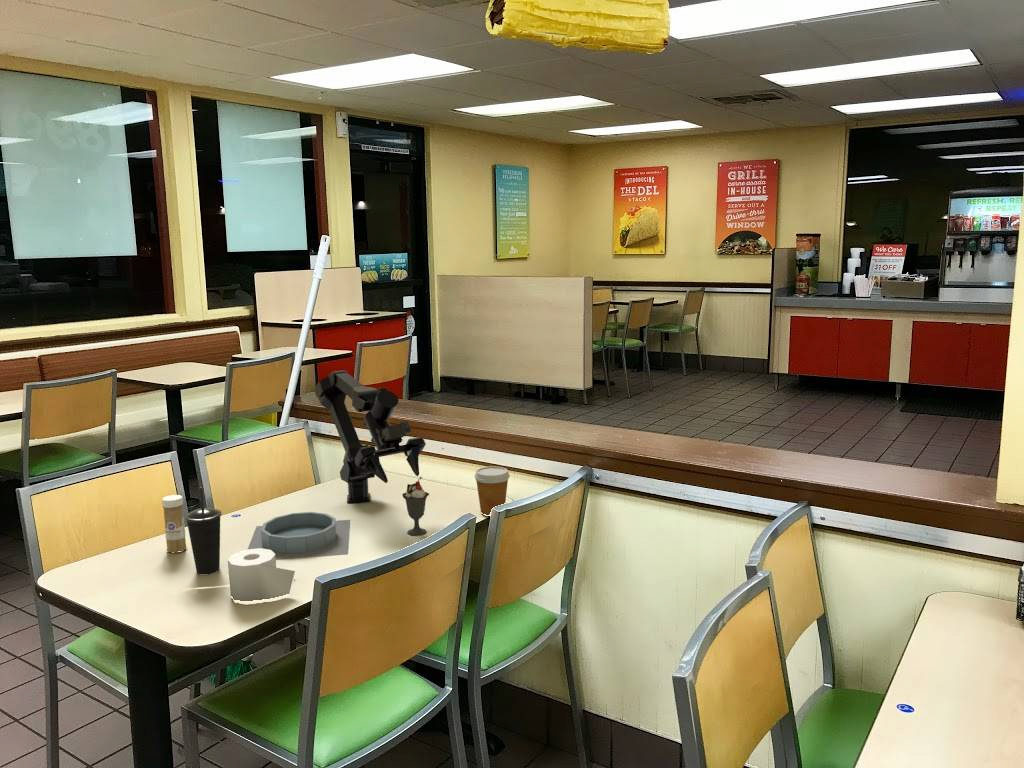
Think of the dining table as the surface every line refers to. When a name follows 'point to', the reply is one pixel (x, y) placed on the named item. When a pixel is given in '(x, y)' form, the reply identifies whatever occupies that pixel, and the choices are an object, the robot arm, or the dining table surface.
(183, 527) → the sprinkles bottle
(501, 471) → the disposable coffee cup
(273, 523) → the bowl
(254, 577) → the toilet tissue
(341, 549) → the mat
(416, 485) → the sundae
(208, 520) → the drinking cup
